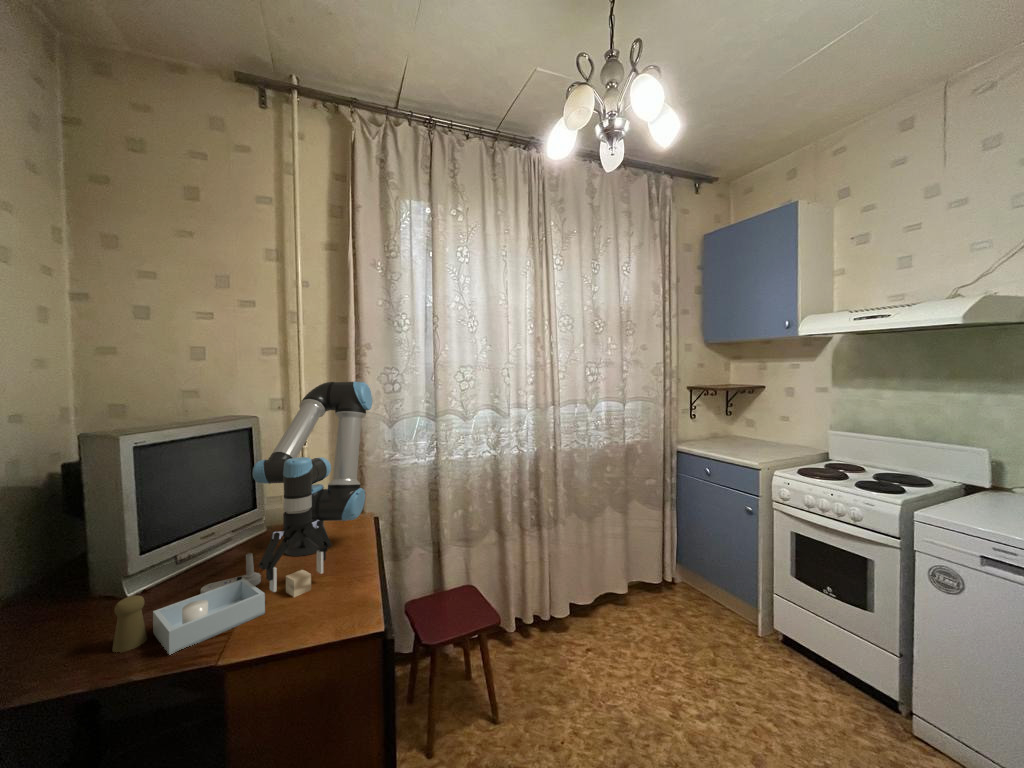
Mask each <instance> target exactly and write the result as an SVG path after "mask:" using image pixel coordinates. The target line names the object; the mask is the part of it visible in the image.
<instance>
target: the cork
mask: <svg viewBox="0 0 1024 768" xmlns="http://www.w3.org/2000/svg"><path fill="white" fill-rule="evenodd" d="M144 606H145V599H144V597H143V596H142V595H131V596H128V597H124V598H122V599H121V600H119V601H118V602H117V603H116V604H115V606H114V611H113V612H114V614H115V616H116V617H117V620H116V624H115V632H114V637H113V643H112V649H111V650H112V653H115V652H116V653H117V652H120V653H125V652H128V651H132V650H133V649H134V650H135V649H136V648H138V647H140V646H142V645H143V644H145V643H146V641H147V640H148V636H147V630H146V625H145V621H144V620H145V619H144V615H143V610H142V609H143V607H144ZM141 644H142V645H141ZM131 649H132V650H131ZM117 654H118V653H117Z"/></svg>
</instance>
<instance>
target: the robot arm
mask: <svg viewBox="0 0 1024 768" xmlns="http://www.w3.org/2000/svg"><path fill="white" fill-rule="evenodd" d="M372 395H373V394H372V390H371V388H370V387H369V385H368V384H367V383H366V382H365V381H363V382H362V381H327V382H324V383H321V384H319V385H318V386H315V387H314V388H313V389H311V390H310V391H309V392H308V393H307V394H306V395H305V396H304V397H303V398H302V400H301V402H300V403H299V405H298V407H299V410H298V411H297V413H296V414H295V416H294V417H293V419H292V421H291V423H290V424H289V425H288V427H287V428H286V430H285V432H284V433H283V435H282V436H281V438H280V440H279V442H278V443H277V444H276V446H275V448H274V450H273V451H272V453H271V455H270V456H269V457H268V459H261V460H258V461H257V462H255V464H254V465H253V467H252V478H253V480H254V481H255V482H256V483H258V484H269V485H271V484H283V506H282V507H283V511H284V512H283V514H282V515H283V518H282V521H283V523H282V524H283V525H282V526H283V529H282V531H275V530H274V531H272V532H271V536H270V540H269V542H268V544H267V546H266V549H265V551H264V554H262V556H261V557H262V558H261V559H260V561H259V564H258V568H260V569H261V570H263V571H264V570H265V571H266V573H265V575H266V576H265V579H266V580H267V581H268V582H269V590H270V591H271V592H272V593H276V592H277V590H278V589H277V586H278V583H277V581H278V580H277V579H278V573H277V570H278V568H277V567H275V566H276V565H277V564H278V562H279V560H280V559H281V558H282V557H283V556H284V555H287V556H290V557H301V556H302V557H303V556H309V555H312V554H316V572H317V573H318V574H321V575H322V574H324V562H325V561H326V559H327V558H326V557H327V552H328V550H329V548H331V547H333V543H332V542H331V540H330V538H329V535H328V532H327V530H326V528H325V524H324V523H325V522H324V521H327V522H328V521H333V522H334V521H336V522H337V521H342V522H345V521H353V520H356V519H358V518H359V516H360V515H361V514H362V511H363V509H364V505H365V501H366V490H365V489H364V488H362V487H361V482H360V481H359V480H358V469H359V468H358V467H359V456H360V455H359V454H360V444H361V430H362V420H363V419H364V417H365V416H367V411H370V410H371V409H372V406H373V396H372ZM328 411H334V415H336V417H337V418H338V423H337V432H336V433H337V434H336V440H335V441H336V444H335V453H334V465H333V466H334V467H333V476H332V480H331V481H330V482H329V483H328V484H327V488H325V487H324V484H322V483H320V484H319V483H318V482H321V481H324V479H325V478H328V476H329V475H330V473H331V471H332V464H331V463H330V461H329V460H328V459H327V458H324V457H314V458H312V459H311V458H310V457H306V456H304V457H302V456H301V457H298V456H299V454H300V453H301V452H302V449H303V447H304V446H305V444H306V442H307V440H308V438H309V437H310V435H311V433H312V432H313V429H314V428H315V426H316V425H317V423H318V421H319V419H320V418H321V417H324V416H325V413H326V412H328ZM316 483H317V484H316ZM282 537H283V539H282V540H281V538H282ZM280 540H281V541H280ZM279 541H280V544H279ZM278 544H279V545H278Z"/></svg>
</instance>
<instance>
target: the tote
mask: <svg viewBox="0 0 1024 768" xmlns="http://www.w3.org/2000/svg"><path fill="white" fill-rule="evenodd" d="M199 600H207V601H208V614H207V615H205V616H202V617H200V618H197V619H195V620H192V621H190V622H187V623H185V624H182V608H183V607H184V606H186V605H187V604H189V603H192V602H195V601H199ZM265 614H266V593H265V592H264V591H262V590H261V589H259V587H256V586H254V585H253V584H251V583H250V582H248V581H247V580H245V579H241V580H238V581H236V582H233V583H230V584H227V585H225V586H222V587H219V588H216V589H213V590H211V591H208V592H205V593H202V594H198V595H197V594H196V595H195V596H192V597H189V598H186V599H184V600H180V601H178V602H175V603H172V604H169V605H166V606H163V607H162V608H158V609H156V610H152V632H153V633H152V634H153V635H154V636H155V638H156V639H157V641H158V642H159V643H161V644H160V646H161V647H162V648H163V647H164V648H163V649H164V651H165V650H166V651H167V652H166V651H165V652H166V653H167V655H168V654H169V655H171V654H173V653H175V652H177V651H179V650H181V649H184V648H186V647H189V646H191V647H193V646H195V645H197V643H198V644H199V643H202V642H204V641H206V640H209V639H211V638H214V637H216V636H218V635H220V634H222V633H225V632H227V631H229V630H231V629H234V628H236V627H239V626H241V625H242V624H246V623H247V622H250V621H252V620H254V619H256V618H258V617H261V616H263V615H265ZM194 644H195V645H194ZM192 645H193V646H192ZM189 648H190V647H189ZM186 649H187V648H186ZM184 650H185V649H184ZM177 653H178V652H177ZM175 654H176V653H175ZM169 655H168V656H169ZM173 655H174V654H173ZM171 656H172V655H171Z"/></svg>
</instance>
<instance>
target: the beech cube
mask: <svg viewBox="0 0 1024 768" xmlns="http://www.w3.org/2000/svg"><path fill="white" fill-rule="evenodd" d="M311 590H312V573H310V572H309V571H306V570H304V569H300V570H297V571H295V572H293V573H290V574H287V575H285V593H286V594H287V595H289V596H291V597H293V598H296V597H298V596H300V595H303V594H306V593H307V592H310V591H311Z"/></svg>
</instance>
